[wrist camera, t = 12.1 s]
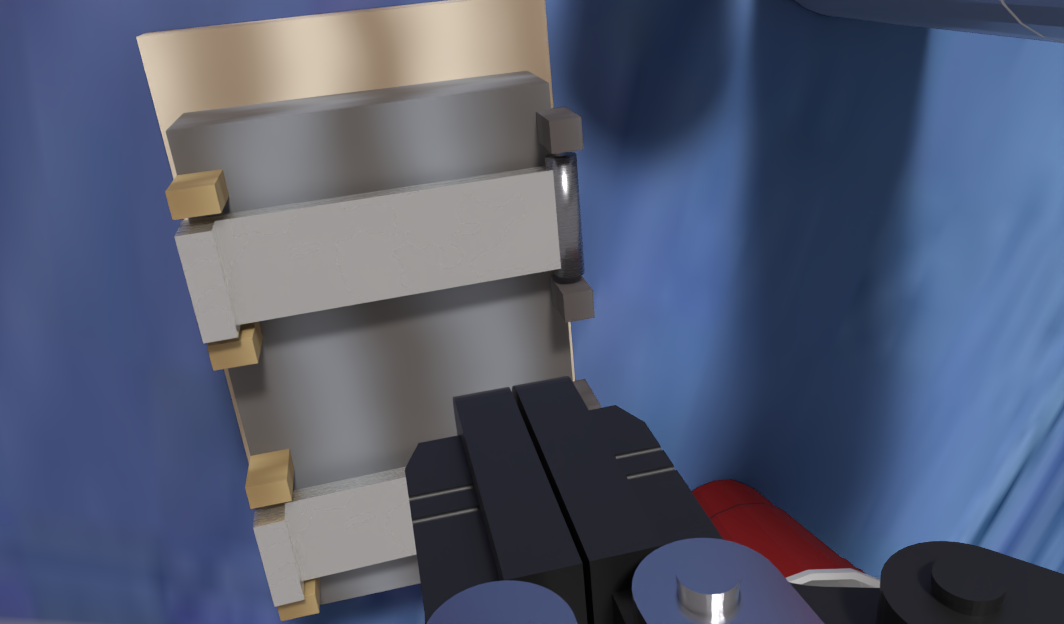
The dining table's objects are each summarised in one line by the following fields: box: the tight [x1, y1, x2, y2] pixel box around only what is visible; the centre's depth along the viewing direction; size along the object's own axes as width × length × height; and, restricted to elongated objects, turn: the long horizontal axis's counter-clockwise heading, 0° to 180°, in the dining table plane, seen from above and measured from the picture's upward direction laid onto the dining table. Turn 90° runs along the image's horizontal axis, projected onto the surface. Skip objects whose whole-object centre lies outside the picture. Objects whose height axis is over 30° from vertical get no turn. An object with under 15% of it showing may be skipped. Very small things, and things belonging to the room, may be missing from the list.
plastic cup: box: [692, 480, 880, 588], centre depth 45 cm, size 11×11×12 cm
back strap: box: [253, 467, 417, 607], centre depth 36 cm, size 15×5×2 cm, turn 96°
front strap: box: [174, 152, 584, 344], centre depth 32 cm, size 15×5×2 cm, turn 96°
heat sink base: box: [136, 0, 601, 621], centre depth 37 cm, size 16×28×8 cm, turn 6°
